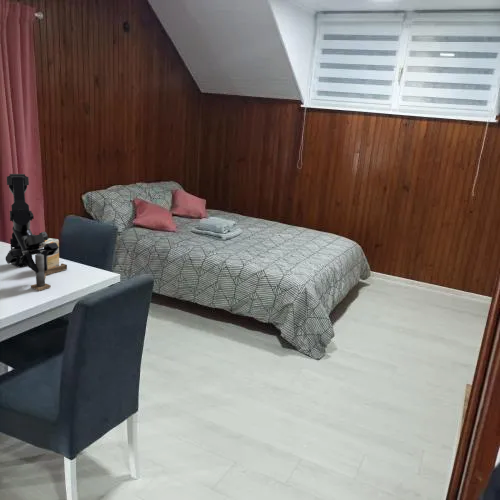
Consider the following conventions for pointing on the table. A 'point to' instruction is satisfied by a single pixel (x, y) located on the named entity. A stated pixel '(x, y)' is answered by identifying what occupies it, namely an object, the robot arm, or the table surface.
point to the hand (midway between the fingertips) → (42, 271)
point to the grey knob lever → (44, 272)
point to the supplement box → (52, 259)
